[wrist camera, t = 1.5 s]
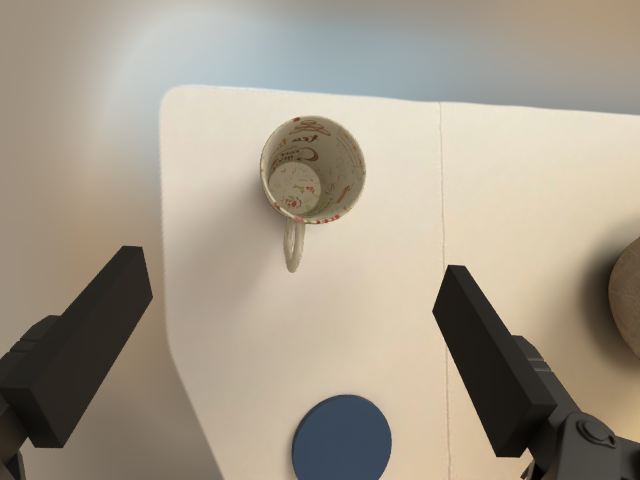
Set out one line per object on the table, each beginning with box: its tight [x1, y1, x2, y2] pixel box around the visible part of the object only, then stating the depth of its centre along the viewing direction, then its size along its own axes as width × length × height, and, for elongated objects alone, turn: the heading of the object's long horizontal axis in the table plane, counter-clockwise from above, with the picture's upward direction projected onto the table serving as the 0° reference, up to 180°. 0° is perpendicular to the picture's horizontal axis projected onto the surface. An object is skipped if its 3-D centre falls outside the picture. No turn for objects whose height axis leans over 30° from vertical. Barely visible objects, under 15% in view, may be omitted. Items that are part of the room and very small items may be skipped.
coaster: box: [292, 395, 392, 480], centre depth 37 cm, size 11×11×1 cm
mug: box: [260, 116, 366, 273], centre depth 31 cm, size 8×13×10 cm, turn 175°
